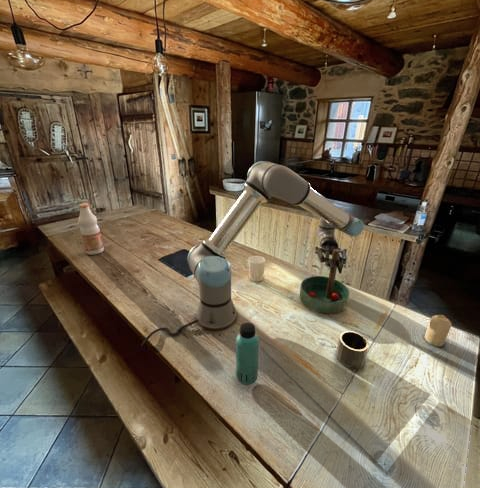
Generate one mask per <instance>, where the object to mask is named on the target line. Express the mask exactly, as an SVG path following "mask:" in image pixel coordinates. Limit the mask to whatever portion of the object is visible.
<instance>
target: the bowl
mask: <svg viewBox="0 0 480 488" xmlns="http://www.w3.org/2000/svg"><path fill="white" fill-rule="evenodd" d="M328 279H329V276H324V275H314V276H309V277H305V279H303V280H302V281H301V282H300V288H299V299H300V302H301V303H302V304H303V305H304V306H305V307H307V308H308V309H309V310H312V311H314V312H317V313H320V314H327V315H328V314H330V315H332V314H338V313H341V312H343V311H345V310H346V308H347V306H348V302H349V297H350V290H349V289H348V287H347V285H345V284H344V283H343V282H342V281H340V280H338V279H335V281H334V287H333V293H336V294H337V295H338V299H337V300H332V299H327V298H326V291H327V285H328ZM310 292H313V293H315V295H316V297H315V298H312V297H311V296H309V295H308V294H309V293H310ZM333 293H332V294H333Z"/></svg>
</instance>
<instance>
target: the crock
mask: <svg viewBox="0 0 480 488" xmlns="http://www.w3.org/2000/svg"><path fill="white" fill-rule="evenodd" d="M337 342H338V343H337V348H336V352H335V357H336V360H337V361H338V363H340V364H341V365H342V366H344V368H347V369H349V370H360V369H362V368H363V367H364V365H365V362H366V357H367V353H368V350H369V347H370V343H369V340H368V339H367V338H366V336H364V335H363V334H361V333H359V332H356V331H354V330H346V331H345V330H344V331H343V332H341V333H340V334H339V338H338V341H337Z"/></svg>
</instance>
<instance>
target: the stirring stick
mask: <svg viewBox="0 0 480 488" xmlns="http://www.w3.org/2000/svg"><path fill="white" fill-rule="evenodd" d="M339 252H340V250H339V249H333V254H332V255H331V259H332V262H333V265H334V269H333V273H331V272H330V271H329V273H328V277H329V279H328V285H327V291H326V298H327V299H331V298H332V293H333V287H334V281H335V280H336V275H337V271H338V268H337V264H338V258H339V255H340V253H339Z"/></svg>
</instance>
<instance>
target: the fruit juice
mask: <svg viewBox="0 0 480 488" xmlns="http://www.w3.org/2000/svg"><path fill="white" fill-rule="evenodd" d="M78 208H79V209H80V211H79V216H78V218H77V222H78V224H79V226H80V228H79V230H80V235H81V239H82V243H83V246H84V250H85V254H87V255H91V256H93V255H98V254H101V253H103V252H104V250H105V247H104V242H103V239H102V234H101V233H102V232H101V230H100V226H99V225H98V218H97V216H96V215H95V214H94V213H93V212H92V211H91V208H90V204H89V203H87V202H85V203H80V204H79V205H78Z"/></svg>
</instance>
